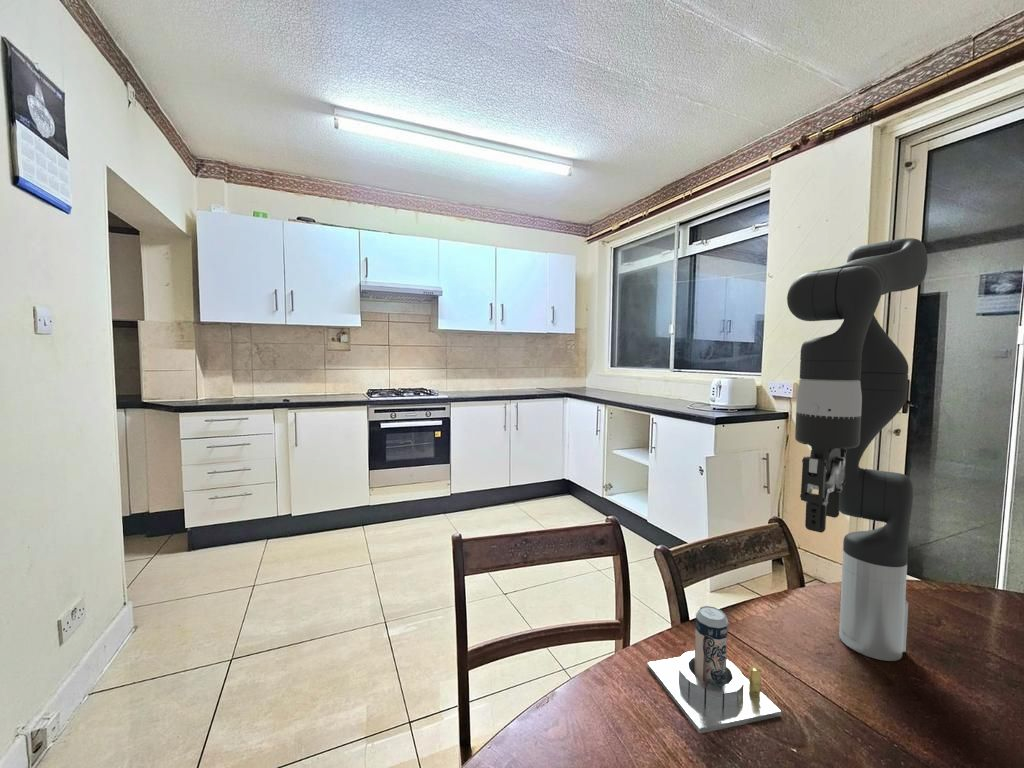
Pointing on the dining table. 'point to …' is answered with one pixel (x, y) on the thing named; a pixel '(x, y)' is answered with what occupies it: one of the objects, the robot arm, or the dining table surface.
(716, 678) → the beer can
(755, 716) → the flange collar
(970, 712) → the dining table surface
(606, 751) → the dining table surface
